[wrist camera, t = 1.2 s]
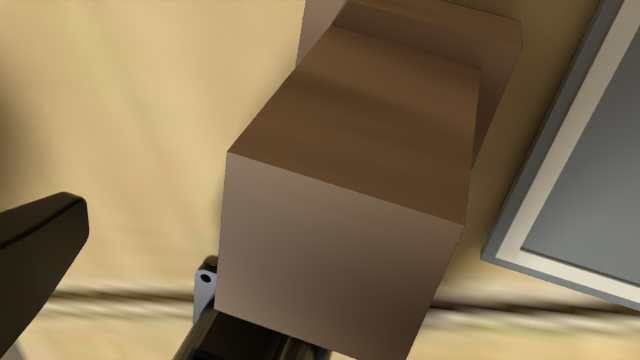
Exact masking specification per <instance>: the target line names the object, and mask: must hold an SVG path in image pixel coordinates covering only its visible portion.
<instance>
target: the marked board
mask: <svg viewBox="0 0 640 360" xmlns="http://www.w3.org/2000/svg"><path fill="white" fill-rule="evenodd" d="M480 260H482V261H485V262H488V263H492V264H495V265H498V266H501V267H504V268H507V269H510V270H513V271H517V272H520V273H523V274H526V275H529V276H532V277H535V278H538V279H542V280H545V281H548V282H551V283H554V284H557V285H560V286H564V287H567V288H570V289H573V290H576V291H579V292H582V293H585V294H589V295H592V296H595V297H598V298H601V299H604V300H607V301H610V302H614V303H617V304H620V305H623V306H626V307H629V308H632V309H635V310H639V311H640V0H601V1H600V3H599V5H598V7H597V9H596V11H595V13H594V15H593V17H592V19H591V21H590V24H589V26H588V28H587V30H586V32H585V34H584V36H583V38H582V40H581V42H580V44H579V46H578V49H577V51H576V53H575V55H574V57H573V59H572V61H571V63H570V65H569V67H568V69H567V71H566V74H565V76H564V78H563V80H562V82H561V84H560V86H559V88H558V90H557V92H556V94H555V97H554V99H553V101H552V103H551V105H550V107H549V109H548V111H547V113H546V115H545V117H544V119H543V122H542V124H541V126H540V128H539V130H538V132H537V134H536V136H535V138H534V140H533V142H532V145H531V147H530V149H529V151H528V153H527V155H526V157H525V159H524V161H523V163H522V165H521V167H520V170H519V172H518V174H517V176H516V178H515V180H514V182H513V184H512V186H511V188H510V190H509V193H508V195H507V197H506V199H505V201H504V203H503V205H502V207H501V209H500V211H499V213H498V215H497V218H496V220H495V222H494V224H493V226H492V228H491V230H490V232H489V234H488V236H487V238H486V241H485V243H484V245H483V247H482V249H481V252H480Z"/></svg>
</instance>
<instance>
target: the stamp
mask: <svg viewBox="0 0 640 360" xmlns="http://www.w3.org/2000/svg"><path fill="white" fill-rule="evenodd" d="M521 49H522V35H521V21H517V20H513V19H509V18H506V17H502V16H498V15H494V14H490V13H486V12H483V11H479V10H475V9H471V8H467V7H463V6H460V5H456V4H452V3H448V2H444V1H441V0H306V3H305V9H304V16H303V22H302V28H301V35H300V41H299V48H298V54H297V60H296V67H295V69H294V70H293V72H292V73H291V74H290V75H289V76H288V78H287V79H286V80H285V81H284V82H283V84H282V85H281V86H280V87H279V89H278V90H277V91H276V92H275V93H274V95H273V96H272V97H271V98H270V100H269V101H268V102H267V103H266V104H265V106H264V107H263V108H262V109H261V111H260V112H259V113H258V114H257V115H256V117H255V118H254V119H253V120H252V122H251V123H250V124H249V125H248V126H247V128H246V129H245V130H244V131H243V133H242V134H241V135H240V136H239V137H238V139H237V140H236V141H235V142H234V144H233V145H232V146H231V147H230V148H229V150H228V151H227V157H226V169H225V181H224V193H223V205H222V217H221V229H220V242H219V254H218V266H217V278H216V290H215V302H214V309H215V310H218V311H221V312H224V313H227V314H229V315H232V316H235V317H238V318H241V319H244V320H247V321H249V322H252V323H255V324H258V325H261V326H264V327H266V328H269V329H272V330H275V331H278V332H281V333H283V334H286V335H289V336H292V337H295V338H298V339H301V340H303V341H306V342H309V343H312V344H315V345H318V346H320V347H323V348H326V349H329V350H332V351H335V352H337V353H340V354H343V355H346V356H349V357H352V358H355V359H357V360H406V358H407V356H408V354H409V352H410V349H411V347H412V345H413V343H414V340H415V338H416V336H417V333H418V331H419V329H420V327H421V324H422V322H423V320H424V318H425V315H426V313H427V311H428V308H429V306H430V304H431V302H432V299H433V297H434V295H435V292H436V290H437V288H438V286H439V283H440V281H441V279H442V277H443V274H444V272H445V270H446V267H447V265H448V263H449V261H450V258H451V256H452V254H453V252H454V249H455V247H456V245H457V242H458V240H459V238H460V236H461V233H462V231H463V229H464V227H465V219H466V210H467V200H468V190H469V180H470V172H471V169H472V167H473V164H474V162H475V160H476V157H477V155H478V152H479V150H480V148H481V145H482V143H483V140H484V138H485V136H486V133H487V131H488V128H489V126H490V123H491V121H492V119H493V116H494V114H495V111H496V109H497V107H498V104H499V102H500V99H501V97H502V95H503V92H504V90H505V87H506V85H507V82H508V80H509V78H510V75H511V73H512V70H513V68H514V66H515V63H516V61H517V58H518V56H519V54H520V51H521Z"/></svg>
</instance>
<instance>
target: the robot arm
mask: <svg viewBox="0 0 640 360" xmlns="http://www.w3.org/2000/svg"><path fill="white" fill-rule="evenodd" d="M88 236H89V221H88V211H87V203H86V201H85V199H84V198H83V197H80V196H77V195H74V194H71V193H68V192H60V193H56V194H53V195H51V196H48V197H45V198H42V199H39V200H36V201H33V202H30V203H27V204H24V205H21V206H18V207H15V208H12V209H9V210H6V211H3V212H0V359H1V358H2V356H3V355H4V354H5V353H6V352H7V350H8V349H9V348H10V347H11V346H12V344H13V343H14V342H15V341H16V340H17V338H18V337H19V336H20V335H21V333H22V332H23V331H24V330H25V329H26V327H27V326H28V325H29V324H30V323H31V321H32V320H33V319H34V318H35V316H36V315H37V314H38V313H39V311H40V310H41V309H42V307H43V306H44V305H45V303H46V302H47V300H48V299H49V297H50V296H51V294H52V293H53V291H54V290H55V288H56V287H57V285H58V284H59V282H60V281H61V279H62V278H63V276H64V275H65V273H66V272H67V270H68V269H69V267H70V266H71V264H72V263H73V261H74V260H75V258H76V257H77V255H78V254H79V252H80V250H81V249H82V247H83V246H84V244H85V243H86V241H87V239H88ZM216 278H217V267H216V266H213V265H210V264H202V265H201V266H200V267H199V269H198V270H197V272H196V274H195V291H194V311H193V327H192V328H191V330H190V331H189V333H188V335H187V336H186V338H185V340H184V341H183V343H182V345H181V346H180V348H179V349H178V351H177V353H176V354H175V356H174V358H173V359H172V360H325V359H326V356H327V352H328V349H326V348H323V347H320V346H318V345H315V344H312V343H309V342H306V341H303V340H301V339H298V338H295V337H292V336H289V335H286V334H283V333H281V332H278V331H275V330H272V329H269V328H266V327H264V326H261V325H258V324H255V323H252V322H249V321H247V320H244V319H241V318H238V317H235V316H232V315H229V314H227V313H224V312H221V311H218V310H215V309H214V302H215V290H216Z"/></svg>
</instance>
